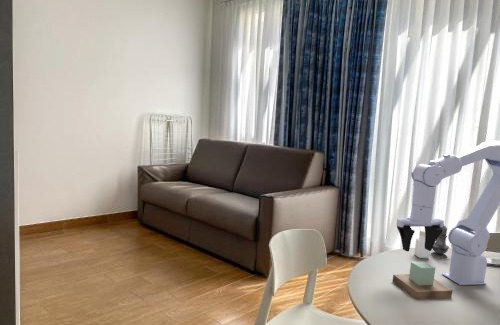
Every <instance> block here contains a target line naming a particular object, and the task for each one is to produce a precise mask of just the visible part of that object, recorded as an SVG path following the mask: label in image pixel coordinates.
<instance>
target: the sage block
mask: <svg viewBox="0 0 500 325" xmlns="http://www.w3.org/2000/svg"><path fill="white" fill-rule="evenodd" d="M409 274H410V275H409V279H411V280H412V281H413V282H415V283H416V284H418V285H433V282H434V279H435V274H436V267H434V266H433V265H431V264H429V263H428V262H427V261H410V268H409Z"/></svg>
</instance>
